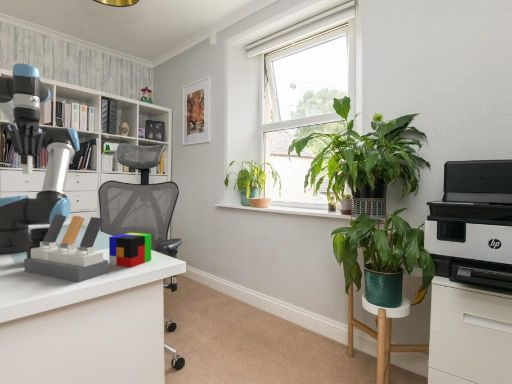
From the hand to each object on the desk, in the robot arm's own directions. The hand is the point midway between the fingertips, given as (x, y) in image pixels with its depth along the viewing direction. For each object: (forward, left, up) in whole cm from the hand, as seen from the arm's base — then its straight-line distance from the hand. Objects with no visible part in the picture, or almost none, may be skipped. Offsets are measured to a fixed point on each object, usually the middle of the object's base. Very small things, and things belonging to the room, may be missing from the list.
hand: (27, 173), depth 103 cm
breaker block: (+7, +24, -32) cm, 41 cm away
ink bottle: (-1, +5, -33) cm, 33 cm away
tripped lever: (+7, +24, -24) cm, 35 cm away
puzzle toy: (-8, +37, -33) cm, 50 cm away
